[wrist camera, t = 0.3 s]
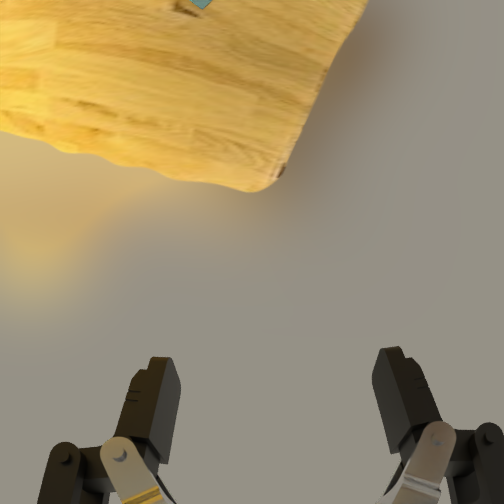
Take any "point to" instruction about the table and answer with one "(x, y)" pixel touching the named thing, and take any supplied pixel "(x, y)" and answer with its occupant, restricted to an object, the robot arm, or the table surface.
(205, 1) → the rubber mat
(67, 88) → the table surface
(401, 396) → the robot arm
